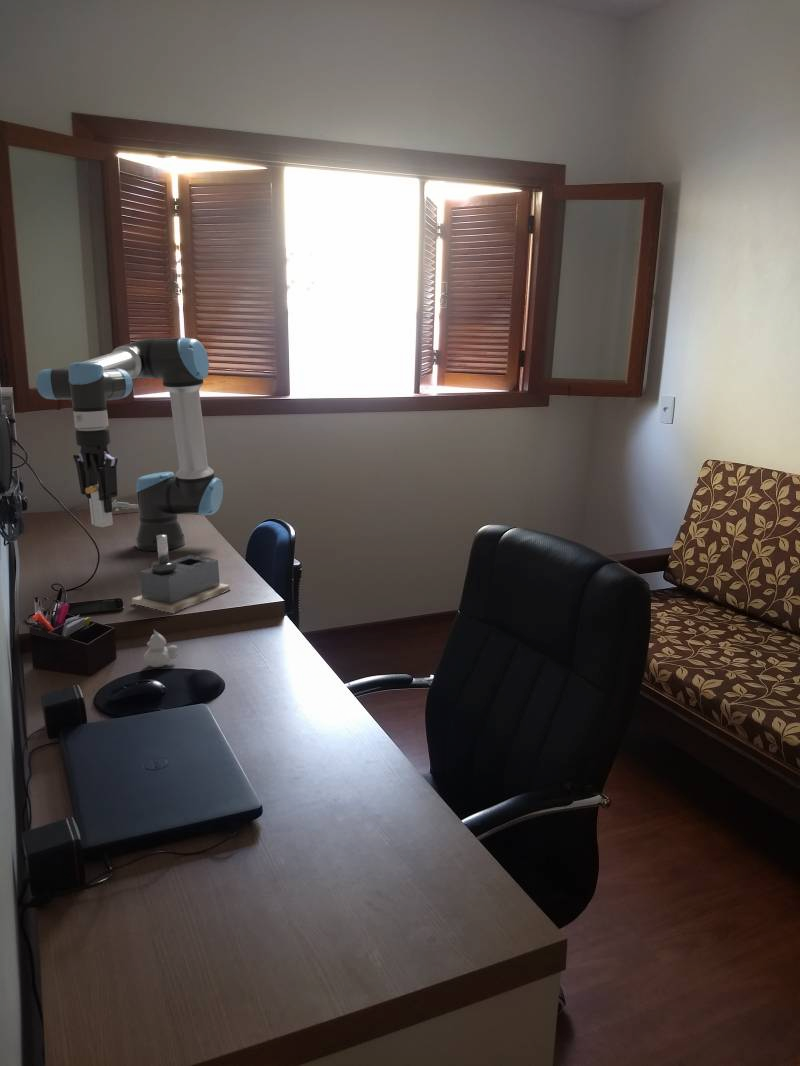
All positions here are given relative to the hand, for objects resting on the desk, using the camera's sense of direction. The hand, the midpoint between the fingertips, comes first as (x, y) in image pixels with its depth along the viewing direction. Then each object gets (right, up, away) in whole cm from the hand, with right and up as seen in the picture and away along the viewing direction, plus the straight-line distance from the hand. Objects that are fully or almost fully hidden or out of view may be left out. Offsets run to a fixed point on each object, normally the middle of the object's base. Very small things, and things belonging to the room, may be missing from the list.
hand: (102, 524), depth 188 cm
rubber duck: (+25, -29, -32) cm, 50 cm away
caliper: (-27, +5, +106) cm, 109 cm away
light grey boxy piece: (0, 0, 0) cm, 0 cm away
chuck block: (+17, -17, +8) cm, 26 cm away
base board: (+17, -19, +9) cm, 27 cm away
